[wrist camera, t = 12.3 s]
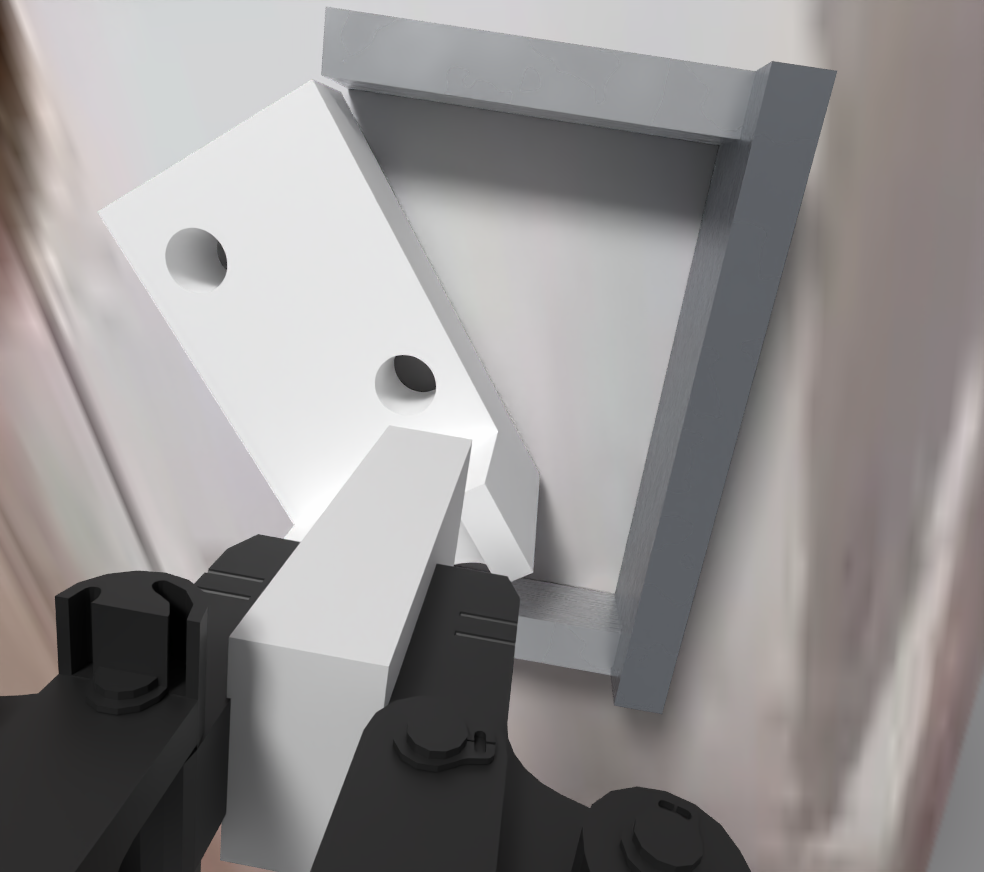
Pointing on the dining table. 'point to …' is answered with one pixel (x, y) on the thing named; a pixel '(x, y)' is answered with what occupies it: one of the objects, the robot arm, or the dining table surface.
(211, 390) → the bracket
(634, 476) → the dining table surface
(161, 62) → the dining table surface
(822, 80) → the u-shaped rail frame
